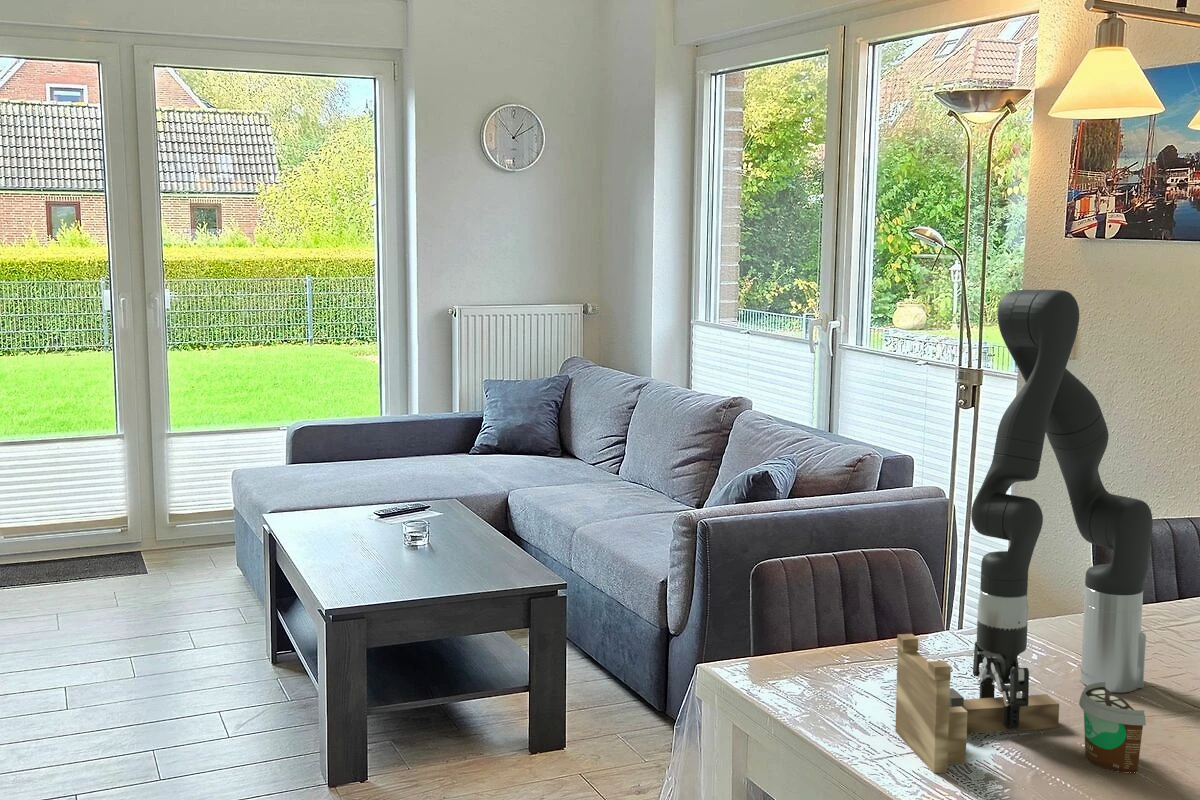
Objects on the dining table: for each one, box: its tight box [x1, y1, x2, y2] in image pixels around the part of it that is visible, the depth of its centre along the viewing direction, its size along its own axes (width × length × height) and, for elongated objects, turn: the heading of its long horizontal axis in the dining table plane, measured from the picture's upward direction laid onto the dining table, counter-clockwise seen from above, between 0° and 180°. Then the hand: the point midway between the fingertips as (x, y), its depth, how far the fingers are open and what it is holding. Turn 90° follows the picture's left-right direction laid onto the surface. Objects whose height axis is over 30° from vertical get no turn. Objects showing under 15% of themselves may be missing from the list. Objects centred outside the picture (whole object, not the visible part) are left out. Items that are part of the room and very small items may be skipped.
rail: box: [949, 687, 1060, 735], centre depth 192 cm, size 18×4×6 cm, turn 98°
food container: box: [1078, 681, 1147, 774], centre depth 179 cm, size 12×6×10 cm, turn 5°
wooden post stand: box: [895, 633, 968, 774], centre depth 182 cm, size 6×15×16 cm, turn 8°
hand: (998, 717), depth 192 cm, fingers open, 8 cm apart
